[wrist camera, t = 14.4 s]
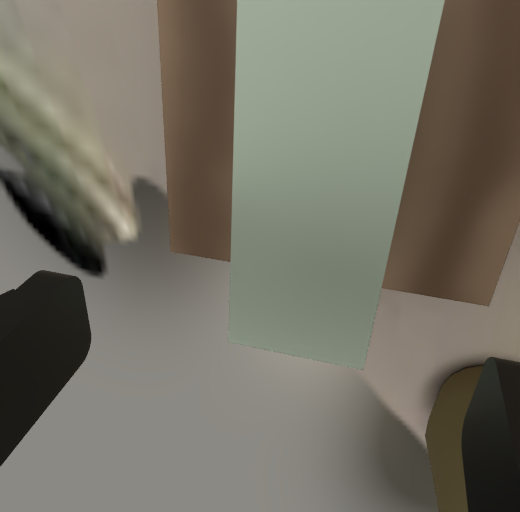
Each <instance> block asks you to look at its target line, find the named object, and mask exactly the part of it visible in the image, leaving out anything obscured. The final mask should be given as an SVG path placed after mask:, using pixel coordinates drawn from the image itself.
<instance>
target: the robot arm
mask: <svg viewBox="0 0 520 512" xmlns="http://www.w3.org/2000/svg"><path fill="white" fill-rule="evenodd" d="M90 344H91V330H90V325H89V320H88V313H87V308H86V302H85V296H84V291H83V286H82V283H81V280H80V279H79V278H78V277H76V276H71V275H66V274H61V273H56V272H50V271H45V270H42V271H38V272H36V273H35V274H33V275H32V276H31V277H30V278H29V279H28V280H26V281H25V282H24V283H23V284H22V285H21V286H19V287H18V289H16V290H14V289H12V290H10V291H8V292H6V293H4V294H2V295H0V466H1V465H2V464H3V463H4V461H5V460H6V459H7V457H8V456H9V455H10V454H11V452H12V451H13V450H14V449H15V447H16V446H17V445H18V444H19V442H20V441H21V440H22V439H23V437H24V436H25V435H26V434H27V432H28V431H29V430H30V429H31V427H32V426H33V425H34V424H35V422H36V421H37V420H38V419H39V417H40V416H41V415H42V414H43V412H44V411H45V410H46V408H47V407H48V406H49V405H50V403H51V402H52V401H53V400H54V398H55V397H56V396H57V395H58V393H59V392H60V391H61V390H62V388H63V387H64V386H65V384H66V383H67V382H68V381H69V380H70V378H71V377H72V376H73V375H74V373H75V372H76V371H77V370H78V368H79V367H80V366H81V364H82V363H83V362H84V360H85V358H86V356H87V354H88V351H89V348H90ZM461 449H462V459H463V468H464V478H465V487H466V496H467V505H468V512H520V362H515V361H510V360H504V359H499V358H494V357H489V358H488V359H487V361H486V362H485V365H484V367H483V370H482V372H481V375H480V378H479V380H478V383H477V385H476V388H475V391H474V393H473V396H472V399H471V401H470V404H469V407H468V409H467V412H466V415H465V418H464V422H463V428H462V438H461Z"/></svg>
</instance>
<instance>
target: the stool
mask: <svg viewBox="0 0 520 512" xmlns="http://www.w3.org/2000/svg"><path fill="white" fill-rule="evenodd" d="M444 2H445V0H237V27H236V66H235V105H234V144H233V183H232V222H231V261H230V299H229V340H228V341H229V342H230V343H235V344H240V345H244V346H249V347H254V348H259V349H264V350H268V351H273V352H279V353H283V354H288V355H293V356H298V357H302V358H307V359H312V360H317V361H322V362H327V363H332V364H336V365H342V366H346V367H351V368H356V369H361V370H363V369H364V365H365V360H366V355H367V351H368V346H369V342H370V337H371V333H372V328H373V324H374V319H375V315H376V310H377V306H378V301H379V296H380V292H381V287H382V283H383V278H384V274H385V269H386V265H387V260H388V256H389V251H390V247H391V242H392V237H393V233H394V228H395V224H396V219H397V215H398V210H399V206H400V201H401V197H402V192H403V188H404V183H405V179H406V174H407V169H408V165H409V160H410V156H411V151H412V147H413V142H414V138H415V133H416V129H417V124H418V120H419V115H420V110H421V106H422V101H423V97H424V92H425V88H426V83H427V79H428V74H429V70H430V65H431V61H432V56H433V52H434V47H435V42H436V38H437V33H438V29H439V24H440V20H441V15H442V11H443V6H444Z"/></svg>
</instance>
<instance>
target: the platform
mask: <svg viewBox="0 0 520 512" xmlns="http://www.w3.org/2000/svg"><path fill="white" fill-rule="evenodd" d="M157 7H158V25H159V44H160V62H161V81H162V99H163V118H164V137H165V155H166V174H167V192H168V210H169V229H170V248H171V252H176V253H182V254H188V255H195V256H200V257H205V258H211V259H217V260H223V261H228V262H230V261H231V222H232V183H233V144H234V105H235V66H236V27H237V0H157ZM519 221H520V0H445V2H444V6H443V11H442V15H441V20H440V24H439V29H438V33H437V38H436V42H435V47H434V52H433V56H432V61H431V65H430V70H429V74H428V79H427V83H426V88H425V92H424V97H423V101H422V106H421V110H420V115H419V120H418V124H417V129H416V133H415V138H414V142H413V147H412V151H411V156H410V160H409V165H408V169H407V174H406V179H405V183H404V188H403V192H402V197H401V201H400V206H399V210H398V215H397V219H396V224H395V228H394V233H393V237H392V242H391V247H390V251H389V256H388V260H387V265H386V269H385V274H384V278H383V283H382V287H381V288H385V289H391V290H397V291H403V292H409V293H414V294H420V295H426V296H432V297H438V298H443V299H449V300H455V301H461V302H467V303H472V304H478V305H484V306H489V305H490V302H491V299H492V296H493V293H494V291H495V288H496V285H497V282H498V280H499V277H500V274H501V271H502V268H503V266H504V263H505V260H506V257H507V255H508V252H509V249H510V246H511V243H512V241H513V238H514V235H515V232H516V230H517V227H518V224H519Z"/></svg>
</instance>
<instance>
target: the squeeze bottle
mask: <svg viewBox="0 0 520 512" xmlns="http://www.w3.org/2000/svg"><path fill="white" fill-rule="evenodd" d="M483 367H484V366H477V367H470V368H465V369H463V370H461V371H459V372H457V373H455V374H453V375H451V376H450V377H449V378H448V380H447V381H446V382H445V383H444V384H443V385H442V387H441V390H440V392H439V395H438V397H437V400H436V402H435V405H434V407H433V409H432V412H431V414H430V417H429V420H428V425H427V429H426V434H425V437H426V442H427V448H428V454H429V459H430V465H431V470H432V476H433V482H434V487H435V493H436V498H437V504H438V510H439V512H468V505H467V496H466V487H465V478H464V468H463V459H462V449H461V438H462V428H463V422H464V418H465V415H466V412H467V409H468V407H469V404H470V401H471V399H472V396H473V393H474V391H475V388H476V385H477V383H478V380H479V378H480V375H481V372H482V370H483Z"/></svg>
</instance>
